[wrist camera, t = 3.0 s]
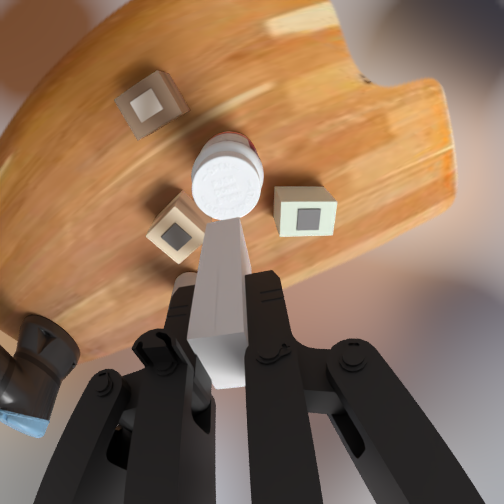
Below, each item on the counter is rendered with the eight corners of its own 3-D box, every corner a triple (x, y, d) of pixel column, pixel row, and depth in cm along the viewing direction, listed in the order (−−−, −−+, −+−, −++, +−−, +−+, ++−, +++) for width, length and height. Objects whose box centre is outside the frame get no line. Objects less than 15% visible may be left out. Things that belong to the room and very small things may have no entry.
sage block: (273, 217, 34) (279, 237, 29) (274, 186, 32) (281, 202, 27) (320, 216, 34) (333, 236, 30) (323, 186, 32) (337, 202, 27)
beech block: (184, 242, 35) (178, 265, 30) (156, 216, 33) (144, 237, 28) (212, 217, 33) (209, 238, 29) (182, 189, 31) (174, 207, 27)
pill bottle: (254, 184, 31) (264, 229, 22) (200, 182, 31) (185, 226, 21) (259, 132, 28) (273, 152, 18) (202, 129, 27) (184, 148, 18)
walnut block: (152, 133, 27) (137, 141, 23) (131, 98, 25) (112, 99, 20) (190, 110, 26) (181, 113, 22) (169, 74, 24) (156, 70, 19)
